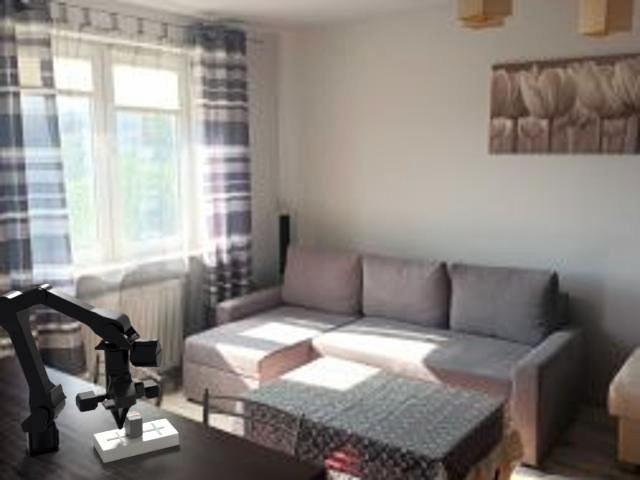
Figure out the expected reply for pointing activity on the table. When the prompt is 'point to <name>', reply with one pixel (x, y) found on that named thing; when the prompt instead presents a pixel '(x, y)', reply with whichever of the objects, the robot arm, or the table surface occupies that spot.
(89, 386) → the table surface
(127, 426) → the fader
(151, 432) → the console
